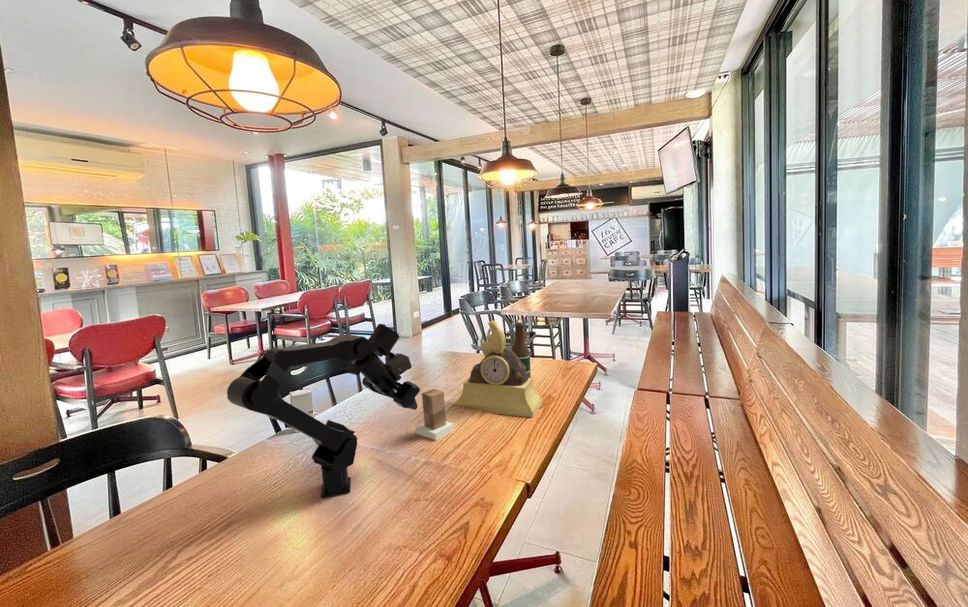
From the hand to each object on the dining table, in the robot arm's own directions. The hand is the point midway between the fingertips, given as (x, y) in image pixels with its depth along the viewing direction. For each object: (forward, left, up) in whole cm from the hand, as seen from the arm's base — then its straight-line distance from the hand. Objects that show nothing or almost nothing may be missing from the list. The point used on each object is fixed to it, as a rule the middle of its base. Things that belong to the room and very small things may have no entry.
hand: (405, 402), depth 119 cm
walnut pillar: (+4, -8, -10) cm, 13 cm away
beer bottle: (+41, -49, -13) cm, 65 cm away
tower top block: (+4, -8, -12) cm, 15 cm away
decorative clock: (+20, -33, -13) cm, 40 cm away
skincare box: (+25, +31, -13) cm, 42 cm away
